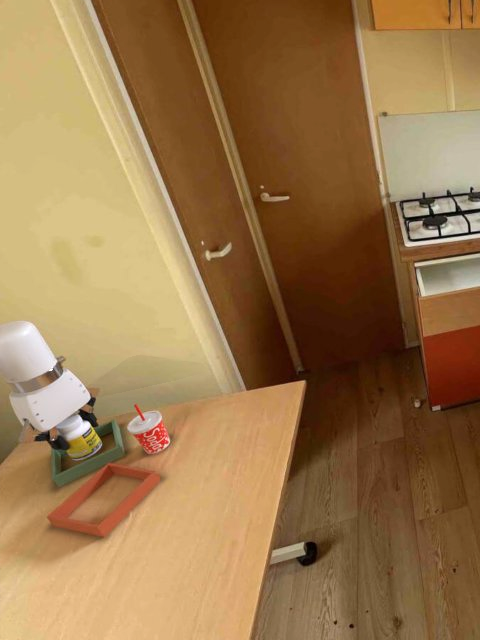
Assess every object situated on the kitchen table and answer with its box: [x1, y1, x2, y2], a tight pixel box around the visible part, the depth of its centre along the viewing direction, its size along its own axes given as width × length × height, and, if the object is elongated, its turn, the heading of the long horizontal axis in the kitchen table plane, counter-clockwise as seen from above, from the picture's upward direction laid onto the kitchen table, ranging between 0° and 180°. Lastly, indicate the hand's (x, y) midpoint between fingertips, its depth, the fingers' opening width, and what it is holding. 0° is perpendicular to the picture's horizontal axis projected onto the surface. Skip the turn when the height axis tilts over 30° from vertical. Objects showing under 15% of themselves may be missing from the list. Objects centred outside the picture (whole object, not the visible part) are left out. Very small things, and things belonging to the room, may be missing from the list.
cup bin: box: [46, 462, 161, 538], centre depth 88 cm, size 12×12×4 cm
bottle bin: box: [50, 418, 126, 488], centre depth 97 cm, size 11×11×4 cm
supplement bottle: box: [56, 413, 103, 461], centre depth 95 cm, size 5×5×10 cm
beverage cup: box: [126, 403, 171, 455], centre depth 97 cm, size 6×6×14 cm
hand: (77, 436), depth 95 cm, fingers closed on supplement bottle, 5 cm apart
